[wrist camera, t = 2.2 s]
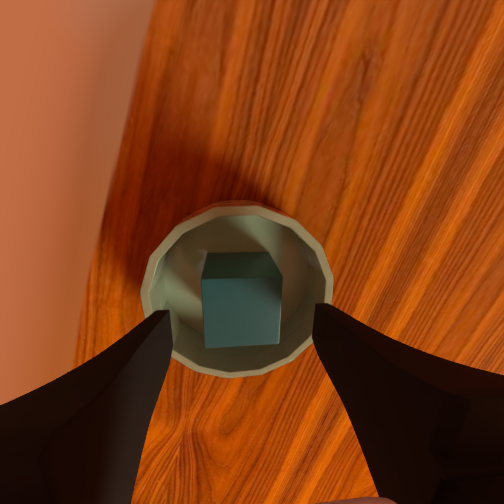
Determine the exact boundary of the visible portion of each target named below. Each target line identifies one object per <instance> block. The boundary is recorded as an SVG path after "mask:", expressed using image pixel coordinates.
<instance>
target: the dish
mask: <svg viewBox="0 0 504 504" xmlns="http://www.w3.org/2000/svg"><path fill="white" fill-rule="evenodd" d="M233 252H269V253H270V255H271V256H272V258H273V260H274V262H275V263H276V265H277V267H278V269H279V270H280V272H281V274H282V276H283V289H282V305H281V322H280V339H279V344H268V345H252V346H235V347H219V348H205V347H204V331H203V314H202V297H201V276H202V271H203V267H204V263H205V259H206V255H207V253H233ZM333 280H334V279H333V275H332V272H331V269H330V266H329V264H328V261H327V258H326V255H325V253H324V250H323V247H322V246H321V244H320V243H319V242H318V241H317V240H316V239H315V238H314V237H313V236H312V235H311V234H310V233H309V232H308V231H307V230H306V229H305V228H304V227H303V226H302V225H301V224H300V223H299V222H298V221H297V220H295V219H294V218H292V217H290V216H289V215H287V214H285V213H284V212H282V211H280V210H277V209H274V208H272V207H269V206H267V205H264V204H261V203H258V202H256V201H253V200H229V201H218V202H215V203H212V204H210V205H208V206H205V207H203V208H201V209H199V210H197V211H195V212H193V213H191V214H189V215H187V216H186V217H184V218H183V219H182V220H181V221H180V222H179V223H178V224H177V225H176V226H175V227H174V228H173V229H172V231H171V232H170V233H169V234H168V235H167V236H166V238H165V239H164V240H163V241H162V242H161V243H160V245H159V246H158V247H157V248H156V249H155V250H154V251H153V253H152V254H151V255H150V257H149V260H148V263H147V267H146V271H145V274H144V278H143V282H142V285H141V289H140V296H141V301H142V306H143V311H144V317H145V319H146V318H147V317H148V316H149V315H151V314H152V313H153V312H155V311H156V310H170V318H171V328H172V337H173V350H172V355H171V357H172V358H174V359H176V360H177V361H179V362H181V363H182V364H184V365H185V366H187V367H189V368H190V369H192V370H194V371H196V372H200V373H205V374H210V375H215V376H219V377H224V378H236V377H245V376H254V375H261V374H264V373H266V372H269V371H271V370H273V369H275V368H278V367H280V366H282V365H284V364H287V363H289V362H291V361H293V360H294V359H295V358H296V357H297V356H298V355H299V354H300V353H301V352H303V351H304V350H305V349H306V348H307V347H308V346H309V345H310V344H311V343H312V342H313V340H312V330H313V320H314V311H315V303H328V304H330V305H331V303H332V292H333Z"/></svg>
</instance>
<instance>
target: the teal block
mask: <svg viewBox="0 0 504 504" xmlns="http://www.w3.org/2000/svg"><path fill="white" fill-rule="evenodd" d="M282 289H283V276H282V274H281V272H280V270H279V269H278V267H277V265H276V263H275V262H274V260H273V258H272V256H271V255H270V253H269V252H233V253H207V255H206V259H205V263H204V267H203V271H202V276H201V297H202V314H203V331H204V347H205V348H219V347H235V346H252V345H268V344H279V339H280V322H281V305H282Z"/></svg>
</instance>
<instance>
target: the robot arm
mask: <svg viewBox="0 0 504 504" xmlns="http://www.w3.org/2000/svg"><path fill="white" fill-rule="evenodd" d="M312 340H313V343H314V346H315V348H316V351H317V354H318V356H319V358H320V360H321V362H322V364H323V366H324V368H325V370H326V372H327V373H328V375H329V377H330V379H331V381H332V383H333V385H334V387H335V389H336V390H337V392H338V394H339V396H340V398H341V400H342V402H343V404H344V406H345V409H346V411H347V413H348V416H349V418H350V421H351V423H352V426H353V428H354V430H355V433H356V436H357V438H358V441H359V443H360V446H361V448H362V451H363V454H364V456H365V459H366V462H367V464H368V467H369V470H370V473H371V476H372V478H373V481H374V484H375V487H376V489H377V492H378V495H379V497H361V498H353V499H346V500H338V501H331V502H323V503H316V504H504V375H500V374H496V373H492V372H488V371H484V370H480V369H476V368H472V367H469V366H466V365H462V364H459V363H456V362H452V361H449V360H446V359H443V358H440V357H437V356H434V355H431V354H429V353H426V352H423V351H421V350H418V349H415V348H413V347H410V346H408V345H406V344H403V343H401V342H399V341H397V340H394V339H392V338H390V337H388V336H386V335H384V334H382V333H380V332H378V331H376V330H374V329H372V328H370V327H368V326H367V325H365V324H363V323H361V322H360V321H358V320H356V319H354V318H353V317H351V316H349V315H348V314H346V313H344V312H343V311H341V310H339V309H338V308H336V307H334V306H332V305H330V304H328V303H315V311H314V320H313V330H312ZM172 350H173V337H172V328H171V318H170V310H156V311H155V312H153V313H152V314H151V315H149V316H148V317H147V318H146V319H145V320H143V321H142V322H141V323H140V324H139V325H137V326H136V327H135V328H134V329H132V330H131V331H130V332H129V333H127V334H126V335H125V336H123V337H122V338H121V339H119V340H118V341H117V342H115V343H114V344H113V345H111V346H110V347H108V348H107V349H106V350H104V351H103V352H101V353H100V354H98V355H97V356H95V357H93V358H92V359H90V360H89V361H87V362H85V363H84V364H82V365H80V366H79V367H77V368H75V369H73V370H72V371H70V372H68V373H66V374H65V375H63V376H61V377H59V378H57V379H56V380H53V381H52V382H49V383H47V384H45V385H43V386H41V387H39V388H37V389H36V390H33V391H31V392H29V393H27V394H25V395H23V396H20V397H18V398H16V399H14V400H12V401H9V402H7V403H5V404H3V405H0V504H131V499H132V495H133V490H134V485H135V481H136V477H137V472H138V468H139V464H140V459H141V455H142V451H143V447H144V443H145V439H146V435H147V431H148V427H149V423H150V420H151V417H152V414H153V411H154V408H155V405H156V402H157V399H158V396H159V394H160V391H161V388H162V385H163V382H164V379H165V376H166V373H167V370H168V367H169V364H170V359H171V355H172Z"/></svg>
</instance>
